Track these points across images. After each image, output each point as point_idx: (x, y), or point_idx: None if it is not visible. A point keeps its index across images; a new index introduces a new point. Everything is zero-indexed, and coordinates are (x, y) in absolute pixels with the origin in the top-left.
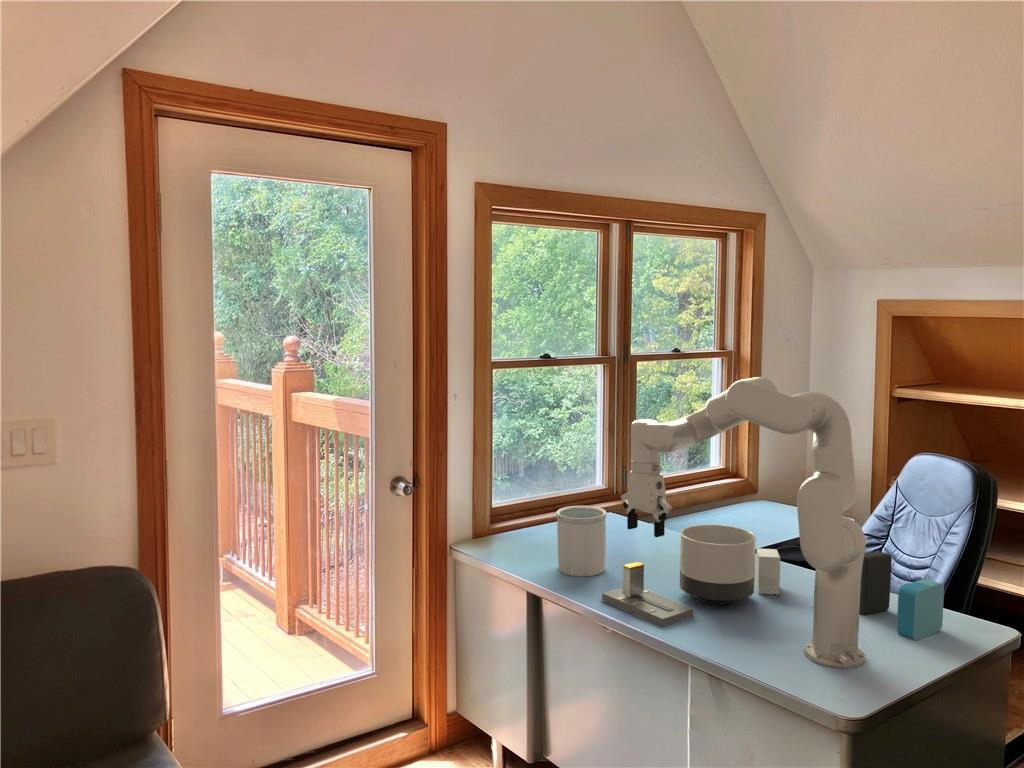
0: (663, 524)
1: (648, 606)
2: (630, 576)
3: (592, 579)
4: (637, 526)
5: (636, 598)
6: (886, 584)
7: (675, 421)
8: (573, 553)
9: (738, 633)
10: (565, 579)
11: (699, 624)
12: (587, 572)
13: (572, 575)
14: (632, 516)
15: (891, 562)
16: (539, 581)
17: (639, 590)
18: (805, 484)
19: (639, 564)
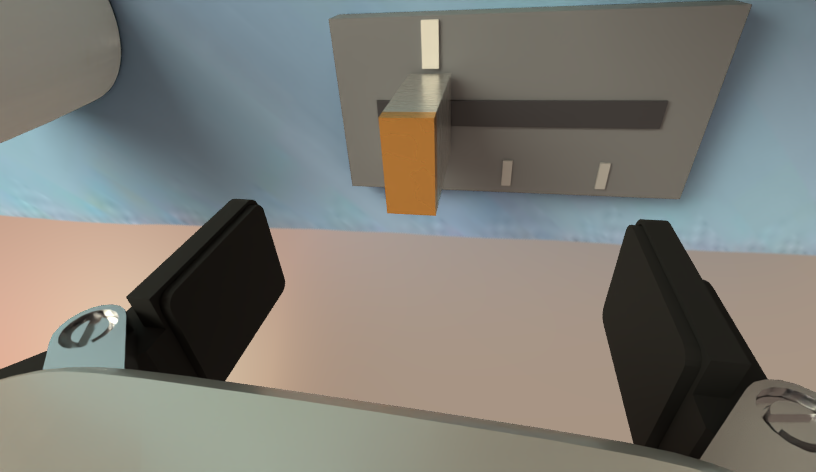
0: (749, 374)
1: (558, 151)
2: (440, 189)
3: (155, 54)
4: (257, 208)
5: (466, 127)
6: None
7: None
8: (32, 125)
9: None
10: (137, 136)
11: (801, 48)
12: (110, 55)
13: (104, 93)
14: (212, 345)
15: None
16: (141, 208)
17: (449, 104)
18: None
19: (422, 141)
